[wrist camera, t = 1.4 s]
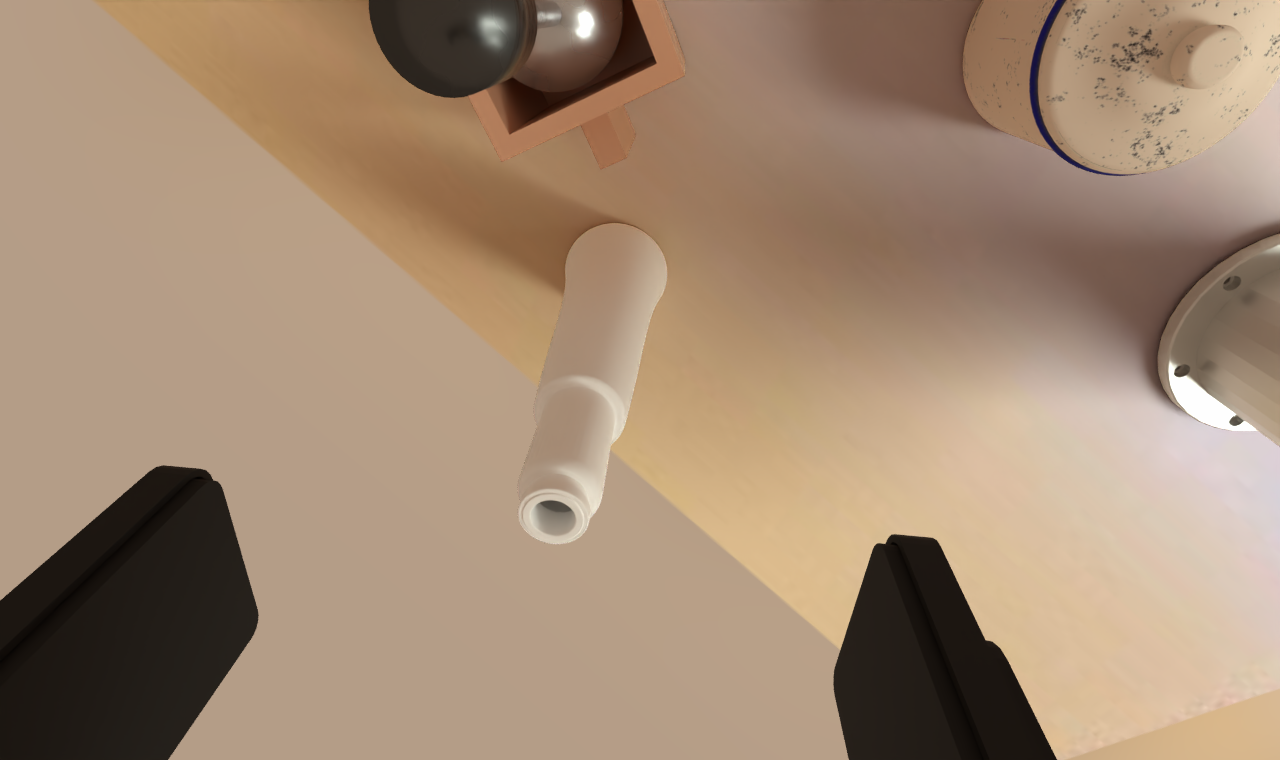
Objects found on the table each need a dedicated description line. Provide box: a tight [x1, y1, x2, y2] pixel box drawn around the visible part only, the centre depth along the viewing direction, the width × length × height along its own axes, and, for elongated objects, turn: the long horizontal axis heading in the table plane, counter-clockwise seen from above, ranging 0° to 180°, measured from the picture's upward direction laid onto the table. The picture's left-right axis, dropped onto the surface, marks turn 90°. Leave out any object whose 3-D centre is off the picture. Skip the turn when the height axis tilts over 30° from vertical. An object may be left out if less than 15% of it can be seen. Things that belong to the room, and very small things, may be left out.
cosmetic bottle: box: [518, 223, 667, 544], centre depth 30 cm, size 6×6×22 cm
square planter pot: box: [468, 0, 685, 169], centre depth 29 cm, size 8×10×10 cm
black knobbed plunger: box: [369, 0, 624, 98], centre depth 21 cm, size 6×6×14 cm
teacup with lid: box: [963, 0, 1280, 176], centre depth 27 cm, size 12×9×12 cm
